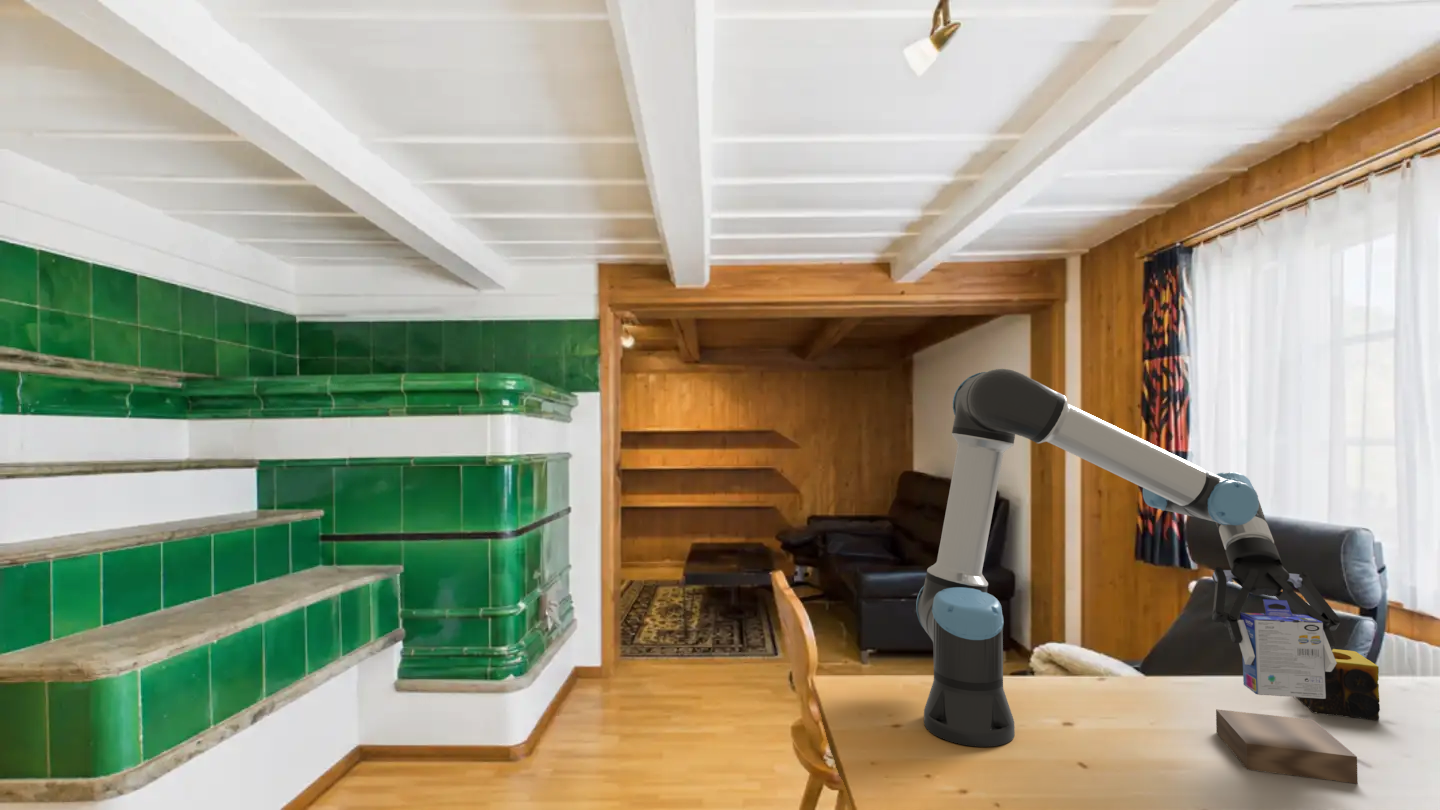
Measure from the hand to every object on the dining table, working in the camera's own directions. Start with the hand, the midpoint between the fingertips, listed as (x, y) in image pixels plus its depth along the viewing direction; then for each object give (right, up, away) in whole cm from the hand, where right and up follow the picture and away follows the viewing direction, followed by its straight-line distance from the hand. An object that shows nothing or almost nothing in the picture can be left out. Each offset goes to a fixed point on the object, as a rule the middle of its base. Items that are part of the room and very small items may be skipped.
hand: (1289, 664), depth 113 cm
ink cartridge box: (+1, -6, +3) cm, 6 cm away
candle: (+26, -17, +22) cm, 38 cm away
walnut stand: (+1, -16, +2) cm, 16 cm away
